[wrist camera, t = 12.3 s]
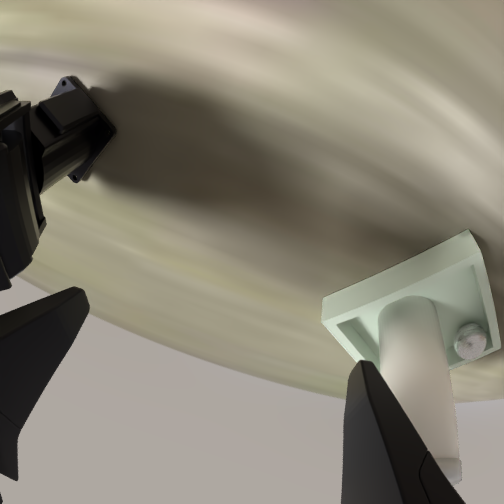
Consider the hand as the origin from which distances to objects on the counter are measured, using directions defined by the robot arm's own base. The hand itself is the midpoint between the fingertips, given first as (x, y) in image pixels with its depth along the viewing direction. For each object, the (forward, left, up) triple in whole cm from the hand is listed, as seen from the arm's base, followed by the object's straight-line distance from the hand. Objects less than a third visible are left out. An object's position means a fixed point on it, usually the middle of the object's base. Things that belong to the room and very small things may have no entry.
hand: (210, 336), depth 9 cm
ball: (+6, -20, -12) cm, 25 cm away
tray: (+3, -17, -13) cm, 22 cm away
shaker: (+2, -16, -12) cm, 20 cm away
